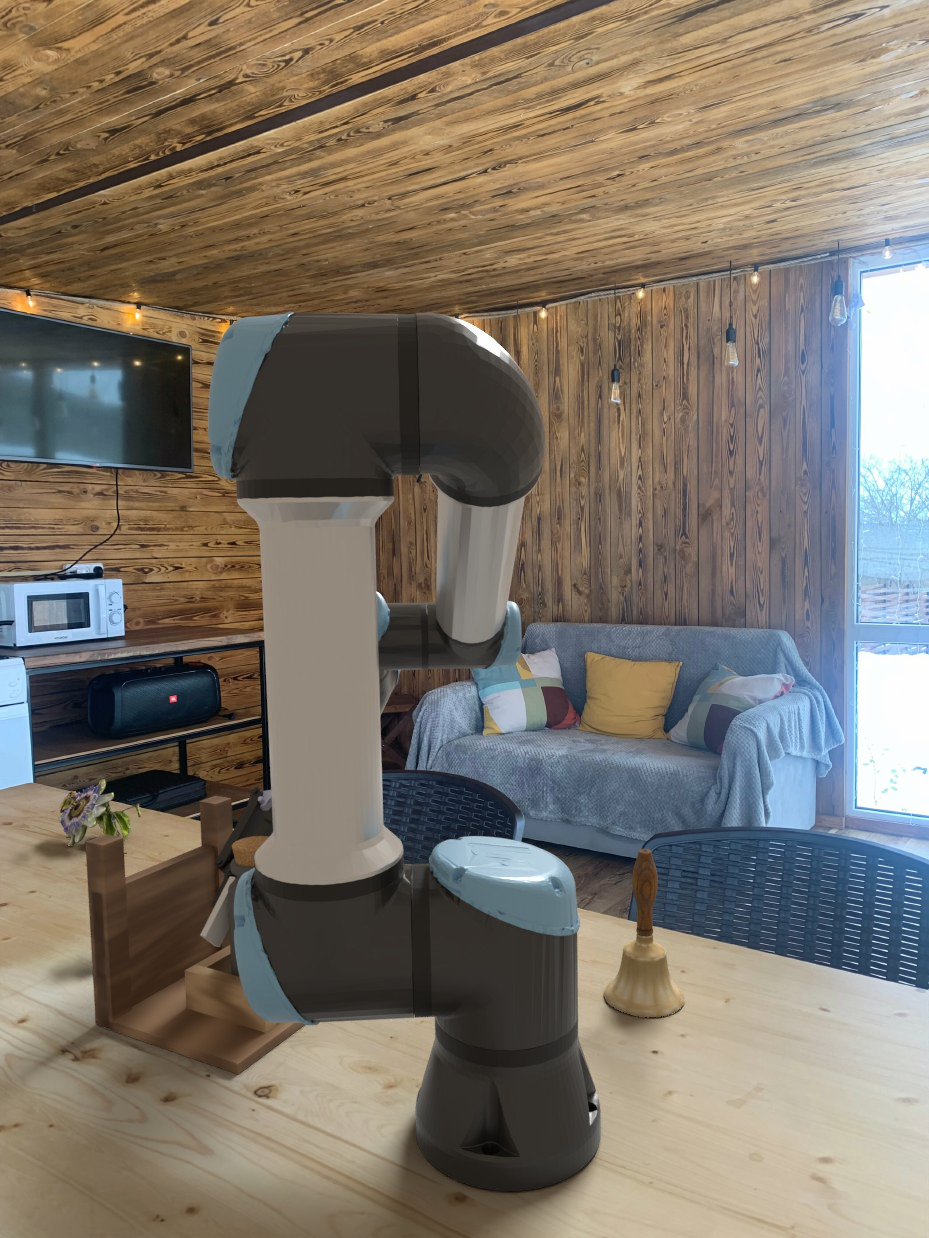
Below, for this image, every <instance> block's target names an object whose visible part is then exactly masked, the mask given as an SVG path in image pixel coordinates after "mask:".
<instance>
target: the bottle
mask: <svg viewBox="0 0 929 1238" xmlns="http://www.w3.org/2000/svg"><path fill="white" fill-rule="evenodd" d="M268 838H269V836H253V837H247V838H243V839H240V840H238V841H236V842H234V843H233V844H232V850H233V853H234V857H235V858H234V859H233V860H232V861H231V872H232V874H234V875H236V876H237V879H235V880H234V881H233V882H232V883H231V884H230V885H229V887H228V906H229V930H230V954H231V974H232V975H235V976H239V972H238V966H237V960H236V953H235V943H234V930H235V920H234V898H235V892H236V887H237V884H238V881H239V879H240V877H241V876H242V875H243V874H244V873H245V872H248V871H250V870H251V869H253V868H255V865H254V856H255V853H256V851H257V850H258V848H259V847H260V846H261V845H262V844H263V843H264V842H265V841H266V840H267V839H268ZM239 977H240V976H239Z"/></svg>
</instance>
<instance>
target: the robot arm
mask: <svg viewBox="0 0 929 1238" xmlns="http://www.w3.org/2000/svg"><path fill="white" fill-rule="evenodd" d="M221 337H222V338H221V339H220V342H219V345H218V348H217V350H216V354H215V358H214V361H213V366H212V372H211V378H210V386H209V393H208V395H209V396H208V408H207V411H208V412H207V436H208V439H207V440H208V441H209V443H210V445H209V446H210V448H209V454H210V456H209V457H210V461H211V465H212V467H213V470H214V472H215V474H216V475H218V477H220V478H222V479H225V480H229V482H232V481H234V480H235V487H236V502H237V505H239V507H240V508H241V509H242V510H244V511H245V512H246V513H247V514H248V515H249V516H250V517H251V518H252V519H253V520H254V521H255V522H256V524H257V526H258V529H259V545H260V567H261V568H260V569H261V570H260V571H261V572H260V573H261V590H262V593H261V594H262V611H263V613H262V614H263V636H264V638H263V639H264V640H263V641H264V662H265V675H266V676H265V678H266V679H265V680H266V681H265V682H266V683H265V684H266V700H267V702H266V703H267V706H266V707H267V723H268V748H269V767H270V769H269V771H270V785H271V786H270V789H268V790H262V789H261V788H260V787H259V786H256V787H253V788H252V789H251V791H250V793H249V798H248V801H247V806H246V808H244V811H243V812H242V815H241V817H240V818H239V819H238V821H237V823H236V825H235V827H234V828H233V832H232V833H231V835H230V837H229V839H228V840H227V842H226V844H225V846H224V847H223V849H222V851H221V853H220V854H219V856H218V858H217V860H216V862H215V866H216V867H217V868H218V869H220V870H221V871H222V872H223V873H224V876H225V877H224V880H223V882H222V884H221V886H220V888H219V890H218V892H217V894H216V896H215V898H214V899H213V904H212V905H213V906H214V909H213V911H212V913H211V915H210V917H209V919H208V921H207V923H206V924H205V926H204V928H203V930H202V932H201V934H200V936H202V937H203V938H204V939H206V940H207V941H208V942H210V943H211V944H212V945H214V946H216V947H220V946H221V944H222V942H223V940H224V938H225V936H226V934H227V932H228V930H229V906H228V887H229V885H230V884H231V883H232V882H233V881H234V880H235V879H237V876H236V875H234V874H232V872H231V861H232V860H233V859H234V858H235V857H234V853H233V850H232V844H233V843H234V842H236V841H238V840H240V839H243V838H247V837H253V836H269V838H268V839H267V840H266V841H265V842H264V843H263V844H262V845H261V846H260V847H259V848H258V850H257V851H256V853H255V856H254V865H255V868H253V869H251V870H250V871H248V872H245V873H244V874H243V875H242V876H241V877H240V879H239V881H238V884H237V887H236V892H235V898H234V920H235V930H234V943H235V953H236V960H237V966H238V972H239V976H240V981H241V984H242V988H243V991H244V994H245V997H246V999H247V1001H248V1003H249V1005H250V1007H251V1008H252V1010H253V1011H254V1012H255V1013H256V1014H257V1015H258V1016H259V1017H261V1018H262V1019H263V1020H265V1021H268V1022H273V1023H303V1024H305V1026H317V1025H319V1024H320V1023H332V1022H333V1023H334V1022H337V1023H338V1022H353V1021H359V1022H360V1021H376V1020H377V1021H378V1020H397V1019H398V1020H399V1019H414V1018H415V1019H416V1018H434V1040H433V1043H432V1044H433V1045H432V1047H431V1051H430V1054H429V1055H428V1056H429V1057H428V1060H427V1064H426V1067H425V1070H424V1075H423V1078H422V1081H421V1086H420V1088H419V1090H418V1092H417V1095H416V1099H415V1108H414V1109H415V1111H414V1112H415V1115H414V1116H415V1137H416V1141H417V1145H418V1148H419V1149H420V1151H421V1153H422V1154H423V1156H424V1157H425V1159H426V1160H427V1161H428V1162H429V1163H430V1164H431V1165H432V1166H433V1167H434V1168H436V1169H437V1170H438V1171H440V1172H441V1173H442V1174H444V1175H446V1176H447V1177H449V1178H452V1179H454V1180H455V1181H458V1182H460V1183H462V1184H465V1185H468V1186H472V1187H475V1188H481V1189H485V1190H490V1191H498V1192H499V1191H501V1192H503V1191H504V1192H519V1191H520V1192H521V1191H528V1190H535V1189H539V1188H540V1189H541V1188H545V1187H549V1186H552V1185H554V1184H557V1183H560V1182H562V1181H564V1180H567V1179H568V1178H570V1177H572V1176H573V1175H575V1174H577V1173H578V1172H579V1171H581V1170H582V1169H583V1168H584V1167H585V1166H586V1165H587V1164H589V1162H590V1161H591V1160H592V1159H593V1157H594V1156H595V1155H596V1152H597V1151H598V1148H599V1145H600V1143H601V1135H602V1134H601V1133H602V1124H601V1123H602V1120H601V1119H602V1118H601V1117H602V1115H601V1114H602V1112H601V1111H602V1109H601V1104H600V1099H599V1095H598V1092H597V1089H596V1086H595V1083H594V1081H593V1077H592V1074H591V1071H590V1069H589V1066H588V1062H587V1060H586V1057H585V1056H586V1055H585V1053H584V1051H583V1047H582V1046H581V1045H582V1044H581V1042H580V1039H579V999H578V998H579V987H578V986H579V985H578V983H579V981H578V979H579V976H578V974H579V973H578V971H579V970H578V966H579V965H578V964H579V963H578V962H579V961H578V959H579V958H578V932H579V929H580V927H581V925H580V924H581V919H580V917H579V914H578V903H577V901H578V900H577V891H576V882H575V878H574V875H573V873H572V871H571V869H570V868H569V866H567V865H566V864H565V862H564V861H563V860H561V859H560V858H559V857H558V856H556V855H554V854H552V853H551V852H549V851H547V850H545V849H542V848H540V847H538V846H536V845H533V844H530V843H526V842H523V841H518V840H515V839H509V838H503V837H497V836H482V835H469V836H459V837H458V838H457V839H454V838H453V839H452V838H450V839H446V840H443V841H441V842H438V844H437V845H435V847H434V848H433V849H432V852H431V855H430V856H429V857H428V861H429V862H428V863H415V864H414V863H413V864H411V863H409V864H406V863H405V864H404V846H403V845H404V844H403V843H402V841H401V839H400V838H398V836H396V834H394V833H393V832H392V831H390V829H388V828H387V827H386V826H385V824H384V804H383V802H384V800H383V795H384V794H383V767H382V766H383V765H382V735H381V733H382V732H381V731H382V728H381V715H382V714H383V711H384V709H385V707H386V705H387V703H388V701H389V699H390V697H391V694H392V693H393V691H394V690H395V687H396V686H397V685H398V683H399V679H400V673H401V671H412V670H416V671H417V670H452V669H453V670H454V669H456V670H457V669H458V670H460V669H461V670H462V669H467V670H468V669H469V670H470V669H471V670H472V669H481V670H490V669H492V668H501V667H502V668H503V667H504V668H505V667H511V666H514V665H516V664H517V663H518V662H519V660H520V658H521V654H522V652H521V651H522V635H523V634H522V620H521V619H522V618H521V617H522V616H521V612H520V607H519V606H518V604H517V603H516V602H514V601H511V600H509V598H510V597H509V596H510V590H511V585H512V579H513V578H512V577H513V573H514V568H515V560H516V555H517V548H518V542H519V537H520V530H521V523H522V517H523V512H524V507H525V506H524V504H525V500H526V497H527V496H528V495H529V494H531V492H532V491H534V488H535V487H536V486H537V484H538V482H539V480H540V478H541V475H542V471H543V466H544V460H545V453H546V448H547V446H546V445H547V444H546V427H545V425H546V424H545V422H544V416H543V412H542V408H541V406H540V404H539V401H538V399H537V395H536V393H535V391H534V388H533V386H532V385H531V382H530V381H529V380H528V377H527V376H526V374H525V373H524V372H523V370H522V369H521V368H520V366H519V365H518V363H517V361H515V360H514V359H513V357H512V356H511V354H510V353H509V352H508V350H505V349H506V348H503V346H501V345H500V344H499V343H498V342H497V341H496V340H495V339H494V338H493V337H492V336H490V335H488V334H487V333H486V332H484V331H483V330H481V329H480V328H478V327H477V326H474V325H473V324H471V323H469V322H467V321H465V320H462V319H459V318H456V317H453V316H449V315H447V314H443V313H442V314H441V313H434V312H416V313H415V314H414V313H412V314H406V313H405V314H403V313H402V314H401V313H397V314H396V313H356V312H355V313H353V312H352V313H350V312H348V313H345V312H343V313H342V312H341V313H340V312H339V313H338V312H293V311H287V312H285V313H282V314H279V313H278V314H271V315H260V316H258V315H257V316H247V317H242V318H239V319H238V320H236V321H234V322H233V323H231V324H230V326H229V327H227V329H226V330H225V332H224V333H223V335H222V336H221ZM420 475H428V477H429V479H430V481H431V482H432V484H433V485H434V487H435V488H436V489H437V521H436V522H437V523H436V524H437V527H436V529H437V530H436V533H437V535H436V536H437V537H436V585H435V586H436V597H435V601H434V602H431V601H430V602H423V601H422V602H386V600H385V598H384V597H383V595H382V594H381V593H380V592H378V591H377V589H378V588H377V587H378V585H377V558H376V552H377V551H376V527H375V526H376V523H377V521H378V519H379V518H380V517H381V516H382V514H383V513H385V511H387V510H388V508H389V507H390V506H391V505H392V504H393V503H394V502H395V496H394V495H395V490H394V488H395V487H394V482H395V481H394V479H395V477H400V476H420Z"/></svg>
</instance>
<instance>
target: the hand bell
mask: <svg viewBox="0 0 929 1238" xmlns="http://www.w3.org/2000/svg"><path fill="white" fill-rule="evenodd" d="M637 853H638V854H637V856H636V860H635V862H634V866H633V869H632V877H631V878H632V880H631V882H632V883H631V884H632V891H633V892H632V893H633V896H634V900H635V903H636V909H637V913H636V918H637V919H636V926H637V927H636V929H635V932H636V938H635V939H633V940H630V941H628V942H626V943H625V945H624V946H623V949H622V954H621V955H622V956H621V962H620V966H619V969H618V971H617V974H616V975H615V977H614V978H613V979H611V980H610V981H609V982H608V983H607V985H605V988H604V990H603V996H604V999H605V1002H606V1003H608V1005H610V1006H611V1007H612V1008H613V1007H614V1008H613V1009H614V1010H616V1011H618V1010H619V1011H618V1012H620V1011H621V1013H623V1012H624V1014H626V1013H627V1015H629V1014H631V1015H630V1016H633V1017H638V1016H639V1018H645V1017H647V1018H646V1019H650V1018H649V1017H656V1018H661V1016H662V1017H663V1016H664V1017H668V1016H670V1015H669V1014H672V1013H674V1012H676V1013H678V1012H679V1011H680V1010H681V1009H682V1008H683V1007H684V1005H685V1002H684V999H685V996H684V993H683V992H682V990H681V988H680V987H679V986H678V985H677V984H676V983H675V982H674V980H673V979H672V977H671V974H670V970H669V965H668V957H667V951H666V949H665V947H664V946H663V945H662V944H660V943H658V942H656V941H654V928H653V926H654V925H653V923H654V921H653V910H654V909H653V908H654V904H655V902H656V898H657V894H658V884H659V883H658V880H659V879H658V878H659V877H658V871H657V867H656V866H657V865H656V864H655V861H654V857H653V853H652V851H651V849H648V848H641V849H639V850H638V852H637ZM682 1006H683V1007H682ZM681 1007H682V1008H681ZM680 1008H681V1009H680ZM679 1009H680V1010H679ZM678 1010H679V1011H678ZM677 1011H678V1012H677ZM674 1014H675V1013H674ZM667 1015H668V1016H667ZM672 1015H673V1014H672ZM664 1017H663V1018H664Z"/></svg>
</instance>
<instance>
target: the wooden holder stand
mask: <svg viewBox="0 0 929 1238" xmlns="http://www.w3.org/2000/svg"><path fill="white" fill-rule="evenodd" d="M232 802H233V801H232V798H231V797H225V796H218V795H214V796H211V797H208V798H205V799H202V800H199V817H200V818H199V819H200V840H201V841H200V842H201V844H200V846H199V847H195V848H193V849H191V850H189V851H186V852H183V853H181V854H179V855H176V856H174V857H172V858H170V859H167V860H164V861H162V862H159V863H157V864H155V865H152V866H150V867H147V868H146V869H145V868H144V869H142V870H140V871H137V872H135V873H133V874H130V875H128V876H126V865H125V845H124V844H125V843H124V842H125V841H124V838H123V837H120V836H117V837H116V836H111V835H104V834H103V835H100V836H98V837H95V838H93V839H88V840H87V841H85V842H84V843H85V858H86V860H85V861H86V875H87V877H86V878H87V892H88V893H87V895H88V909H89V927H90V928H89V929H90V945H91V946H90V947H91V948H90V949H91V965H92V982H93V984H92V985H93V999H94V1019H95V1025H96V1026H98V1027H100V1028H104V1029H105V1030H109V1031H112V1032H115V1033H119V1034H120V1035H124V1036H127V1037H129V1038H132V1039H136V1040H138V1041H141V1042H143V1043H147V1044H150V1045H152V1046H155V1047H158V1048H162V1049H165V1050H167V1051H171V1052H173V1053H176V1054H179V1055H182V1056H184V1057H187V1058H190V1059H193V1060H195V1061H199V1062H202V1063H205V1064H208V1065H211V1066H213V1067H216V1068H218V1069H223V1070H225V1071H227V1072H231V1073H234V1074H236V1075H240V1074H241V1073H242V1072H243V1071H245V1070H246V1069H247V1068H249V1067H250V1066H252V1065H253V1064H255V1063H256V1062H257V1061H258V1060H259V1059H261V1058H263V1057H264V1056H265V1055H266V1054H268V1053H269V1052H270V1051H272V1050H273V1049H274V1048H276V1047H277V1046H278V1045H279V1044H281V1043H283V1042H284V1041H285V1040H287V1039H289V1037H291V1036H292V1035H293V1034H294V1033H296V1032H298V1031H299V1030H300V1029H301V1028H302V1027H304V1026H306V1024H303V1023H273V1022H268V1021H265V1020H263V1019H262V1018H261V1017H259V1016H258V1015H257V1014H256V1013H255V1012H254V1011H253V1010H252V1008H251V1007H250V1005H249V1003H248V1001H247V999H246V997H245V994H244V991H243V988H242V984H241V981H240V977H239V976H235V975H232V974H231V954H230V930H228V932H227V934H226V936H225V938H224V940H223V942H222V944H221V946H220V947H216V946H214V945H212V944H211V943H210V942H208V941H207V940H206V939H204V938H203V937H202V936H200V934H201V932H202V930H203V928H204V926H205V924H206V923H207V921H208V919H209V917H210V915H211V913H212V911H213V909H214V906H213V905H212V904H213V899H214V898H215V896H216V894H217V892H218V890H219V888H220V886H221V884H222V882H223V880H224V877H225V876H224V873H223V872H222V871H221V870H220V869H218V868H217V867H216V866H215V862H216V860H217V858H218V856H219V854H220V853H221V851H222V849H223V847H224V846H225V844H226V842H227V840H228V839H229V837H230V835H231V833H232V832H233V830H234V828H233V826H234V825H233V803H232Z"/></svg>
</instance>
